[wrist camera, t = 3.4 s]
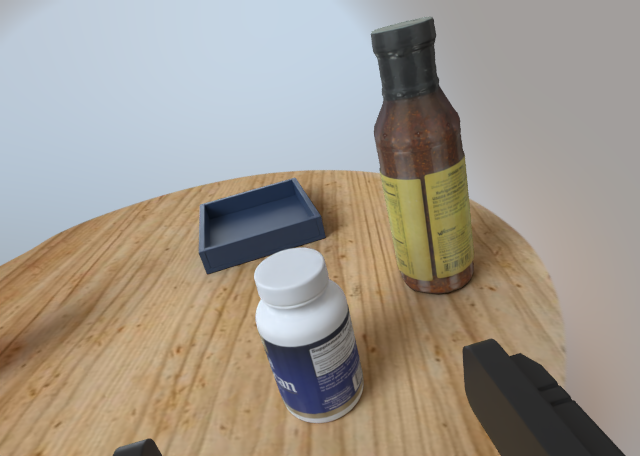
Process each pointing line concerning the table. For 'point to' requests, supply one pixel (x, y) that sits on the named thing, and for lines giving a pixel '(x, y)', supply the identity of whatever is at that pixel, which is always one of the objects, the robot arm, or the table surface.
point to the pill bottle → (308, 335)
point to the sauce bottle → (422, 162)
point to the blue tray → (256, 225)
